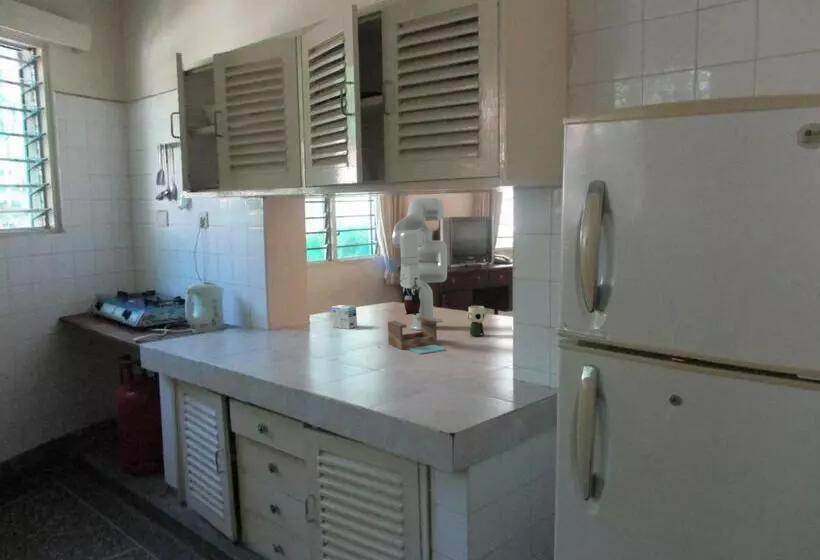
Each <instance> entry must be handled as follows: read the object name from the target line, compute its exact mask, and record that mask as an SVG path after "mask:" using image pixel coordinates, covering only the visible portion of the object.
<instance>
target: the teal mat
mask: <svg viewBox="0 0 820 560" xmlns="http://www.w3.org/2000/svg"><path fill="white" fill-rule="evenodd" d="M408 351H411V352H413V353H416V354H418V355H424V354H432V353H438V352H445V351H447V348H445V347H442V346H438V345H437V344H436V345H427V346H421V347H414V348H408Z"/></svg>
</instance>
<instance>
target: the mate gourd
mask: <svg viewBox="0 0 820 560" xmlns="http://www.w3.org/2000/svg"><path fill="white" fill-rule="evenodd" d="M398 280H399V281H401V280H400V278H399V279H398ZM401 282H402V281H401ZM406 290H407V293H408V295H406V296H405V299H404V298H403V305H404V309H405V315H413V316H414V315H416V314H417V313H420V312H419V309H420V304H421V301H420V297H419V304H412V295H413V294H412V293H411V294H409V292H410V291H409V292H408V289H407V288H406Z"/></svg>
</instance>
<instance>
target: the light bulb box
mask: <svg viewBox="0 0 820 560" xmlns="http://www.w3.org/2000/svg"><path fill="white" fill-rule="evenodd" d="M331 315H332V316H331V317H332V319H331V320H332V328H333V327H338V328H337V329H343V328H347V329H346V330H351V329H354V328H353V327H355V328H357V327H358V317H357V315H358V314H357V305H350V304H349V305H344V304H338V305H334V306H331ZM350 328H351V329H350Z"/></svg>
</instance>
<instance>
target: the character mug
mask: <svg viewBox="0 0 820 560" xmlns="http://www.w3.org/2000/svg"><path fill="white" fill-rule="evenodd" d="M486 317H487V310H486V309H485V306H484V305H471V306H468V312H466V319H467V320H468V321H469V322H471V323H470V330H469V335H471V336H474V337H475V336H476V337H481V336H485V331H484V325H483V322H484V321H485V319H486Z"/></svg>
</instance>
